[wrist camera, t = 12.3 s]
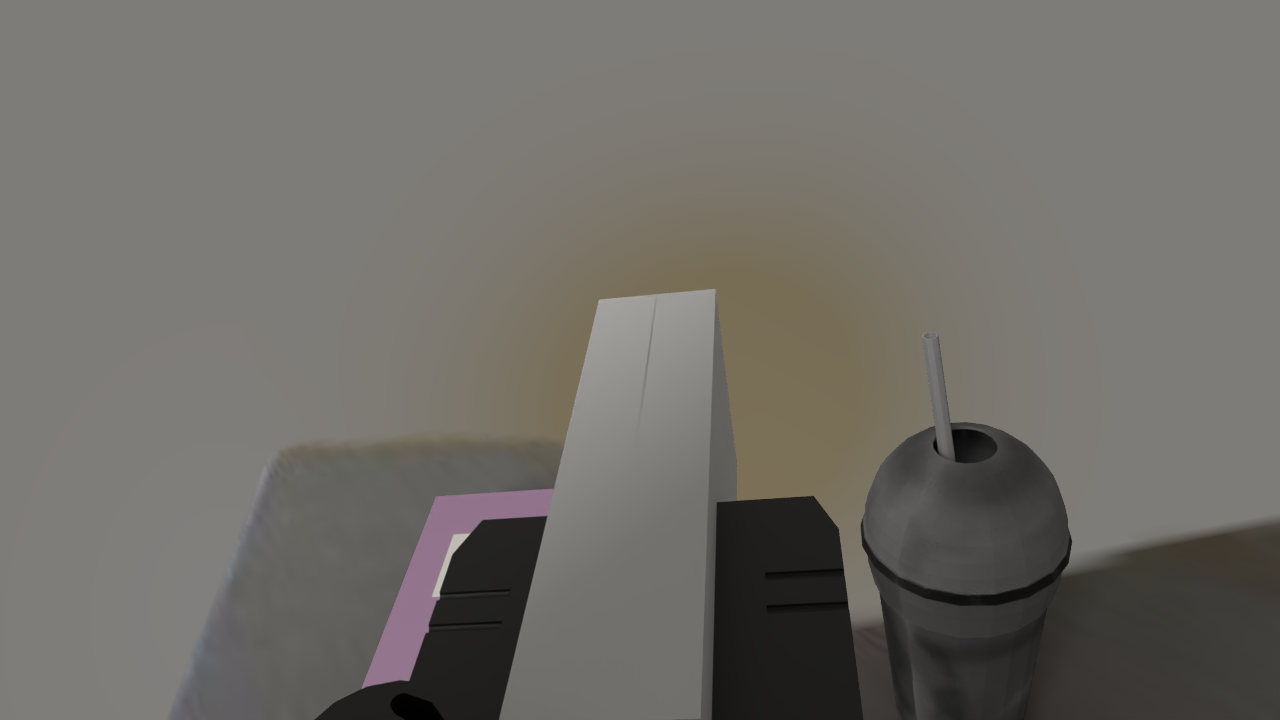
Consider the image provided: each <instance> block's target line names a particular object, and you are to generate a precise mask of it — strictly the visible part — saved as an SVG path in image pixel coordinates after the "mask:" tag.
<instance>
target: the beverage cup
mask: <svg viewBox="0 0 1280 720" xmlns="http://www.w3.org/2000/svg"><path fill="white" fill-rule="evenodd" d="M922 339H923V346H924V353H925V360H926V367H927V374H928V381H929V388H930V395H931V402H932V409H933V416H934V422H935V426H934V427H930V428H928V429H926V430H924V431H921V432H919V433H917V434H915V435H913V436H911V437H909V438H908V439H906V440H905V441H904V442H903V443H902V444H900V445H899V446H898V447H897V448H896V449H895V450H894V451H893V452H892V453H891V454H890V455H889V456H888V457H887V458H886V459H885V461H884V462H883V463H882V465H881V466H880V468H879V470H878V472H877V475H876V476H875V479H874V481H873V484H872V486H871V488H870V491H869V493H868V497H867V501H866V505H865V514H864V516H863V519H862V522H861V536H862V546H863V548H864V550H865V552H866V553H867V555H868V561H869V565H870V568H871V572H872V575H873V578H874V581H875V584H876V586H877V588H878V589H879V591H880V599H881V605H882V612H883V619H884V625H885V632H886V639H887V645H888V652H889V659H890V665H891V672H892V679H893V685H894V692H895V699H896V705H897V712H898V719H899V720H1024V715H1025V710H1026V706H1027V701H1028V696H1029V691H1030V687H1031V682H1032V677H1033V672H1034V668H1035V663H1036V658H1037V653H1038V649H1039V644H1040V639H1041V634H1042V629H1043V625H1044V620H1045V615H1046V610H1047V606H1048V605H1049V604H1050V603H1051V601H1052V600H1053V597H1054V594H1055V592H1056V589H1057V587H1058V584H1059V582H1060V579H1061V573H1062V571H1063V570H1064V568H1065V567H1066V566H1067V565H1068V563H1069V557H1070V551H1071V545H1072V539H1071V535H1070V532H1069V529H1068V518H1067V514H1066V509H1065V505H1064V502H1063V499H1062V496H1061V494H1060V491H1059V488H1058V485H1057V483H1056V481H1055V478H1054V476H1053V475H1052V473H1051V472H1050V470H1049V469H1048V468H1047V466H1046V465H1045V464H1044V463H1043V462H1042V460H1041V459H1040V458H1039V457H1038V456H1037V455H1036V454H1035V453H1034V452H1033V451H1032V450H1031V449H1030V448H1029V447H1028V446H1027V445H1026V444H1024V443H1023V442H1021V441H1019V440H1018V439H1016V438H1014V437H1013V436H1011V435H1009V434H1008V433H1006V432H1004V431H1002V430H999V429H996V428H993V427H990V426H987V425H982V424H975V423H967V422H963V423H950V418H949V410H948V402H947V395H946V388H945V381H944V373H943V366H942V359H941V352H940V344H939V338H938V333H936V332H934V331H928V332H926V333H924V334H923V336H922Z"/></svg>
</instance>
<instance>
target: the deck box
mask: <svg viewBox="0 0 1280 720" xmlns="http://www.w3.org/2000/svg"><path fill="white" fill-rule="evenodd" d="M553 491H554V489H541V490H526V491H511V492H496V493H481V494H466V495H451V496H436V499H435V501H434V504H433V506H432V509H431V511H430V514H429V517H428V519H427V522H426V524H425V527H424V529H423V532H422V535H421V537H420V540H419V542H418V545H417V547H416V550H415V553H414V555H413V558H412V560H411V563H410V565H409V568H408V570H407V573H406V576H405V578H404V581H403V583H402V586H401V588H400V591H399V594H398V596H397V599H396V601H395V604H394V606H393V609H392V612H391V614H390V617H389V619H388V622H387V624H386V627H385V630H384V632H383V635H382V637H381V640H380V642H379V645H378V648H377V650H376V653H375V655H374V658H373V660H372V663H371V666H370V668H369V671H368V673H367V676H366V678H365V681H364V684H363V686H362V689H363V688H365V687H367V686H372V685H377V684H382V683H387V682H393V681H398V680H403V681H409V680H410V677H411V674H412V671H413V668H414V665H415V662H416V659H417V656H418V653H419V651H420V648H421V645H422V642H423V639H424V636H425V633H428V632H429V625H428V624H429V621H430V618H431V616H432V613H433V610H434V607H435V604H436V601H437V600H440V593H439V592H440V589H441V586H442V583H443V581H444V578H445V575H446V572H447V569H448V566H449V563H450V560H451V557H452V554H453V553H454V552H455V551H456V550H457V548H458V547H459V546H460V545H461V544H462V543H463V542H464V540H465V539H466V538H467V537H468V536H469V535H470V534H471V532H472V531H473V530H474V529H475V528H476V527H477V526H478V524H479V523H480V522H481V521H482V520H489V519H505V518H521V517H537V516H548V512H549V508H550V504H551V500H552V496H553Z"/></svg>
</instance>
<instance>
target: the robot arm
mask: <svg viewBox="0 0 1280 720" xmlns="http://www.w3.org/2000/svg"><path fill="white" fill-rule="evenodd" d="M736 467H737V464H736V453H735V444H734V436H733V428H732V420H731V412H730V404H729V396H728V387H727V379H726V371H725V363H724V355H723V346H722V338H721V330H720V321H719V314H718V305H717V297H716V289H709V290H699V291H688V292H677V293H668V294H656V295H646V296H636V297H635V296H634V297H625V298H613V299H602V300H599V303H598V307H597V311H596V316H595V320H594V324H593V328H592V332H591V337H590V341H589V345H588V349H587V353H586V357H585V362H584V366H583V370H582V374H581V378H580V383H579V387H578V391H577V395H576V399H575V403H574V408H573V412H572V416H571V420H570V424H569V429H568V433H567V437H566V441H565V445H564V449H563V454H562V458H561V462H560V466H559V470H558V475H557V479H556V483H555V487H554V491H553V496H552V500H551V504H550V508H549V512H548V516H537V517H521V518H505V519H489V520H482V521H481V522H480V523H479V524H478V526H477V527H476V528H475V529H474V530H473V531H472V532H471V534H470V535H469V536H468V537H467V538H466V539H465V540H464V542H463V543H462V544H461V545H460V546H459V547H458V548H457V550H456V551H455V552H454V553H453V554H452V557H451V560H450V563H449V566H448V569H447V572H446V575H445V578H444V581H443V583H442V586H441V589H440V592H439V593H440V600H437V601H436V604H435V607H434V610H433V613H432V616H431V618H430V621H429V624H428V625H429V632H428V633H425V636H424V639H423V642H422V645H421V648H420V651H419V653H418V656H417V659H416V662H415V665H414V668H413V671H412V674H411V677H410V680H409V681H403V680H398V681H393V682H387V683H382V684H377V685H372V686H367V687H365V688H363V689H361V690H359V691H357V692H355V693H353V694H351V695H349V696H347V697H345V698H343V699H341V700H339V701H337V702H335V703H333V704H332V705H331V706H330V707H329V708H328V709H326V710H325V711H324V712H323V713H322V714H321V715H319V716H318V717H317V718H316V719H315V720H863V714H862V706H861V698H860V690H859V683H858V675H857V667H856V660H855V652H854V644H853V636H852V629H851V621H850V613H849V608H848V599H847V591H846V582H845V576H844V568H843V559H842V552H841V544H840V536H839V529H838V527H837V526H836V525H835V524H834V522H833V521H832V520H831V518H830V517H829V516H828V514H827V513H826V512H825V510H824V509H823V508H822V507H821V505H820V504H819V503H818V501H817V500H816V499H815V497H814V496H807V497H791V498H775V499H760V500H744V501H737V497H736V496H737V495H736V494H737V486H736V485H737V477H736V476H737V474H736V473H737V472H736V471H737V469H736Z"/></svg>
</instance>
